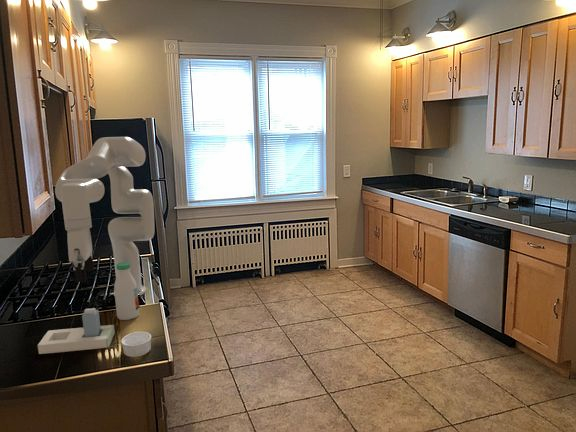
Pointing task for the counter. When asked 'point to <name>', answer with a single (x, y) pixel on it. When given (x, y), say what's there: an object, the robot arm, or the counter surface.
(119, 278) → the milk bottle
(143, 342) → the ramekin
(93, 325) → the plug
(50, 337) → the socket panel
